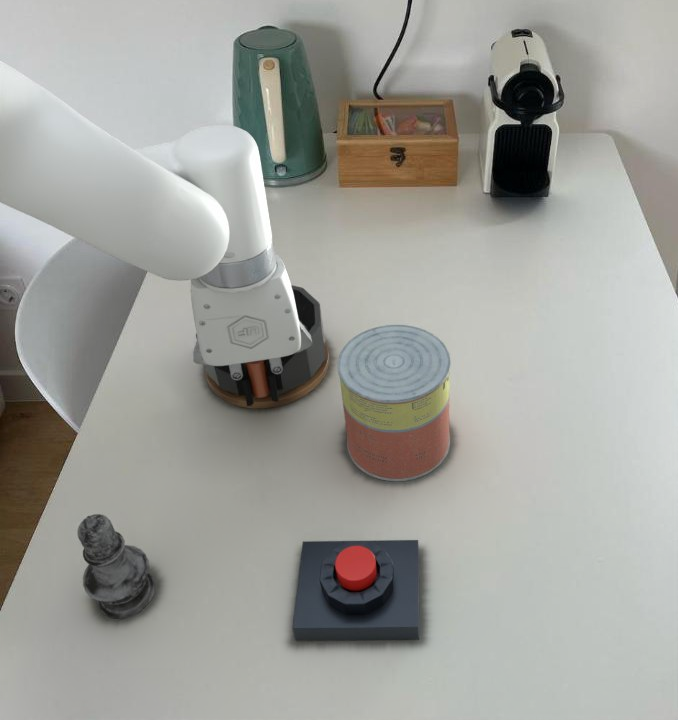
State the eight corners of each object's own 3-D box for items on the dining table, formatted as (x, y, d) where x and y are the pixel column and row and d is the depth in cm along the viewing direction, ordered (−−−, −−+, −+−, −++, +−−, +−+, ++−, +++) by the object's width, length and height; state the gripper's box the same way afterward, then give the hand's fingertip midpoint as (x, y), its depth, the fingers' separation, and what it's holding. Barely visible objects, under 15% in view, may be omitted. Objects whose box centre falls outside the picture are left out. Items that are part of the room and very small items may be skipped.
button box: (295, 641, 72) (289, 617, 69) (305, 554, 79) (300, 530, 76) (419, 639, 72) (418, 616, 69) (418, 553, 78) (417, 528, 76)
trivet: (229, 426, 91) (228, 420, 91) (190, 349, 101) (188, 343, 101) (349, 379, 96) (349, 373, 96) (301, 310, 106) (300, 305, 106)
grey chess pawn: (170, 575, 77) (137, 498, 69) (135, 629, 73) (96, 554, 65) (118, 559, 79) (80, 481, 71) (81, 611, 75) (36, 534, 67)
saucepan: (329, 412, 91) (322, 357, 85) (201, 426, 90) (185, 371, 84) (323, 314, 104) (316, 261, 98) (210, 326, 103) (197, 272, 97)
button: (335, 591, 71) (333, 580, 70) (338, 556, 74) (336, 545, 73) (376, 591, 71) (374, 580, 70) (377, 556, 74) (376, 545, 73)
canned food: (471, 447, 88) (473, 367, 80) (386, 499, 83) (380, 419, 75) (409, 390, 95) (405, 310, 87) (327, 434, 90) (316, 355, 82)
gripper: (148, 292, 73) (189, 431, 86) (323, 268, 76) (338, 407, 88) (150, 246, 79) (188, 383, 91) (313, 225, 81) (329, 362, 93)
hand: (262, 394), depth 89 cm, fingers closed on saucepan, 2 cm apart
